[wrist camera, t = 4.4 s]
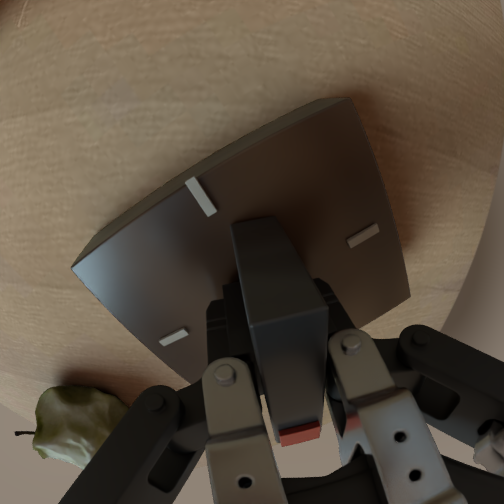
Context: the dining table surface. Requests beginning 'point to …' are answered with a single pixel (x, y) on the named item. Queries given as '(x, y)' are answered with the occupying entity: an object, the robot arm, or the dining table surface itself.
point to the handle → (283, 327)
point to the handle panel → (245, 209)
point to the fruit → (74, 422)
